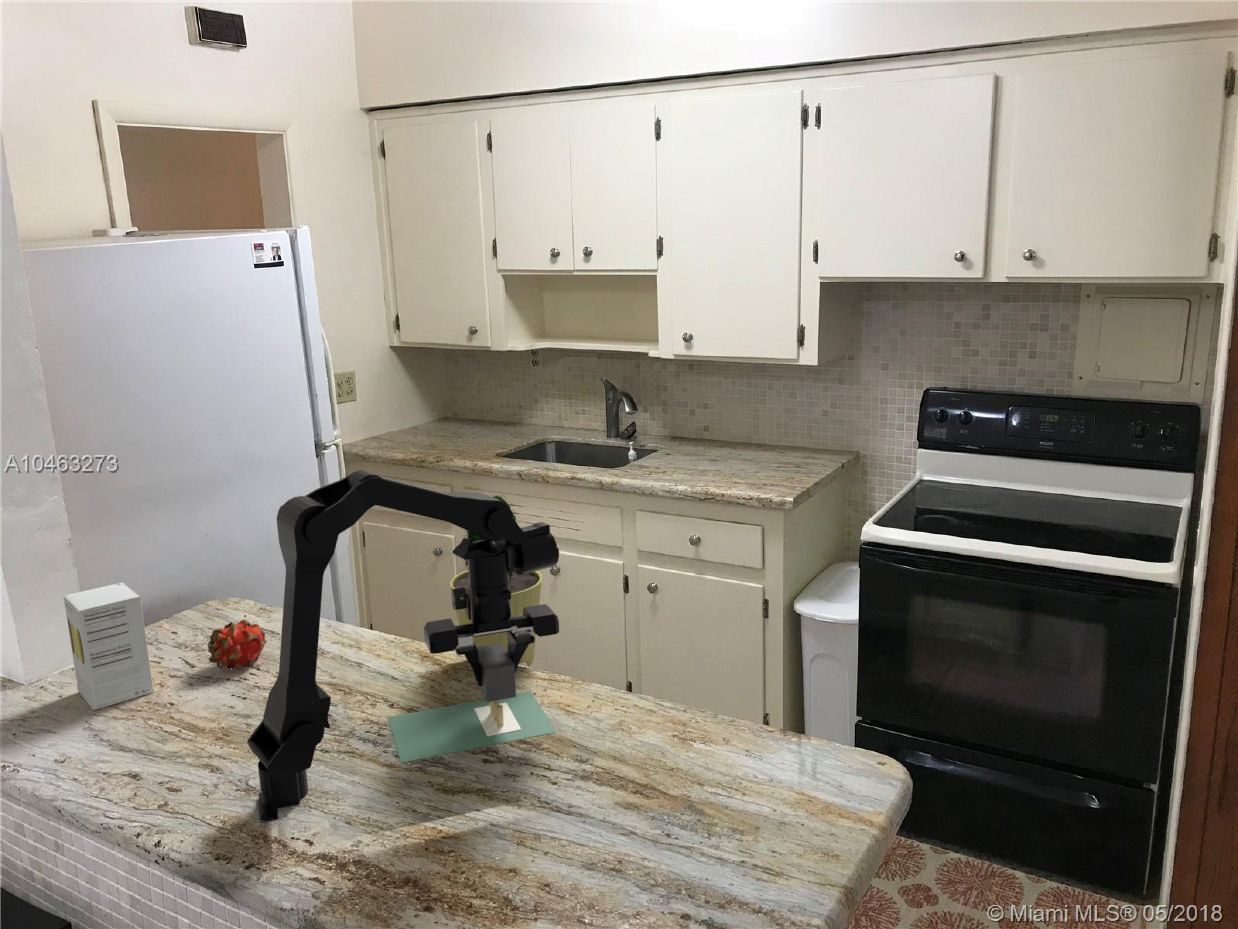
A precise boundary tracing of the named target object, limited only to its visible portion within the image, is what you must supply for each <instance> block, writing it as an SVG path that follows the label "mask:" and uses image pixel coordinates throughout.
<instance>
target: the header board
mask: <svg viewBox="0 0 1238 929" xmlns="http://www.w3.org/2000/svg"><path fill="white" fill-rule="evenodd" d="M387 719H388V723H389V726H390V730H391V733H392V736H393V737H392V738H393V741H394V744H395V747H396V752H397V754H398V758H399V762H400V763H401V764H403V763H409V762H415V761H418V760H423V759H428V758H433V757H438V756H442V755H449V754H454V753H458V752H463V751H469V750H474V749H478V748H484V747H488V746H489V747H490V746H494V745H499V744H504V743H509V742H514V741H518V740H524V739H530V738H534V737H539V736H544V735H549V734H554V733H557V731H556V729H555V728H554V726H553V725H552V723H551V721H550V719H549V718H548V716H547V714H546V713H545V711H544V710H543V709H542V707H541V705H540V704H539V702H538V701H537V699H536V697H535V695H534V694H533V693H532V690H530V691H529V690H528V691H523V692H518V693H517V692H516V697H513V698H507V699H502V700H496V701H491V702H487V701H486V699H485V698H484V699H481V700H480V699H479V700H474V701H468V702H463V703H458V704H453V705H448V706H447V705H446V706H440V707H435V708H429V709H425V710H420V711H413V712H409V713H403V714H397V715H391V716H388V717H387Z"/></svg>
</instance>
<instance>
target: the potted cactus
mask: <svg viewBox="0 0 1238 929" xmlns="http://www.w3.org/2000/svg"><path fill="white" fill-rule="evenodd" d="M490 496H491V497H493V498H496V499H498V500H501V501H503V502H505V503H507V504H508V505H509V506H510V508H512V507H514V504H512V502H509V501H510V500H509V499H507V500H505V499H506V496H504V495H503V494H502V495H501V494H500V495H491V494H490ZM511 511H512V516H513V520H514V521H515V522H516V523H517V524H518V525H519V523H521V521H520V519H519V520H518V519H517V517H516V516H518V515H517V514H518V513H517V512H516V510H514V509H511ZM519 521H520V522H519ZM465 532H466V533H465ZM464 533H465V536H464V535H462V537H464V538H466V539H468V540H470V541H472V542H475V541H479V540H484V539H485V538H482V537H480V536H478V535H476V534H474V533H471V532H469V531H467V530H464ZM502 540H504V539H502V538H501V539H500V540H497V541H493V542H498V541H502ZM542 580H543V575H542V573H540V572H539V570H538V571H534V572H530V573H526V574H522V575H518V574H516V573H515V572H514V571H513V570H511V569H509V582H510V592H511V599H510V602H511V617H514V616H520V615H523V609H524V607H530V606H537V605H540V600H541V594H542V593H541V591H542V590H541V589H542ZM449 586H450V590H451V589H456V588H463V587H464V588H465V590H466V593H469V572H468V570H464V571H462V572H460V573H458V574H457V575H454V577H452V579H451V580H450V582H449ZM451 592H452V590H451ZM455 614H456V619H457V622H458V626H459V625H465V624H472V623H471V620H469V619H468V618H467V614H466V609H459V610H455ZM532 635H533V636H534V638H535V642H534V643H531V644H529V645H528V647H527V649H526V651H525V652H524V654H523V656H522V658H521V660H520V662H519V665H520V664H523V663H525V664H526V665H527V667H528V668H529V667H530V666H531V665H532V664H533V662H534V659H535V651H536V650H535V649H536V641H537V640H536V639H537V634H535V633H534V632H533V631H532ZM473 639H474V640H473V642H474V644H475V646H476V647H479V646H485V645H492V644H498V643H501V644H502V646H503V647H504V649H505V650H506V652H507V654H508V638H507V632H502V633H496V634H490V635H483V636H477V637H473ZM465 659H466V658H465ZM466 661H467V662H468V660H467V659H466Z"/></svg>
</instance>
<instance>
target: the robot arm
mask: <svg viewBox="0 0 1238 929" xmlns="http://www.w3.org/2000/svg"><path fill="white" fill-rule="evenodd" d="M493 497H494V496H493ZM493 497H492V496H491V495H487V494H485V493H483V492H474V491H471V492H470V491H455V492H449V491H448V492H446V491H441V490H436V489H433V488H429V487H425V486H422V485H417V484H413V483H411V482H410V483H409V482H405V481H401V480H398V479H394V478H390V477H386V476H383V475H378V474H375V473H373V472H371V471H368V470H366V469H358V470H355V471H353V472H352V473H350V474H348V475H346V476H345V477H343V478H342V479H339V480H337V481H334V482H331V483H328V484H326V485H323V486H320V487H319V488H316V489H314V490H313V491H310V492H309V493H308V494H306V495H299V496H298V495H297V496H294V497H292V498H289V499H288V500H287V501H286V502H285V503H283V505H281V506H280V507H279V509H278V511H277V515H276V526H277V527H276V528H277V535H278V545H279V547H280V551H281V554H282V559H283V563H284V566H285V578H284V579H285V580H284V581H285V582H284V595H283V605H282V606H283V609H282V620H281V621H282V623H281V624H282V625H281V636H280V637H281V638H280V652H279V663H278V664H279V665H278V666H279V667H278V674H277V675H278V676H277V679H276V680H275V682H274V684H273V685H272V687H271V689H270V691H269V692H268V696H267V699H266V700H267V701H266V704H265V708H264V712H263V717H262V721H261V722H260V723H259V724H258V726H257V727H256V728H255V730H254V731H253V733H252V734H251V735H250V736H249V738H248V739H247V740H246V743H247V745H248V746H249V748H250V750H251V752H252V753H253V755H255V756H256V757H257V758H258V760H259V761H257V762H258V763H257V769H258V778H259V786H260V793H258V810H259V812H258V817H259V821H260V822H266V821H270V820H275V819H279V812H278V811H279V809H282V808H288V807H292V806H297V805H300V804H301V800H303V799H304V798H306V796H307V795H308V793H309V783H308V771H307V770H308V769H310V768H311V767H312V763H313V760H314V756H315V752H316V748H317V745H320V744H321V742H322V741H323V739H324V735H325V729H327V730H328V729H330V727H331V725H330V723H329V711H330V708H331V701H332V697H331V696H330V695H329V694H328V693H327V692H326V691H325V690H324V689H323V688H321V687H320V686H319V684H317V681H316V676H317V665H318V664H317V663H318V652H319V640H320V639H319V638H320V624H321V610H322V597H323V586H324V585H323V583H324V574H325V571H326V569H327V567H328V566H329V564H330V562H331V561H332V558H333V557H334V555H335V551H336V547H337V543H338V539H339V535H340V534H342V533H343V532H345V531H347V530H348V529H350V528H351V527H353V526H354V525H355V524H356V523H357V522H358V521H359V520H360V519H361V518H362V517H363V516H364V515H365V514H366V513H367V512H368V510H369V509H371V508H373V507H375V506H379V507H382V508H387V509H391V510H395V511H400V512H403V513H404V512H405V513H408V514H412V515H417V516H420V517H421V516H422V517H426V518H430V519H435V520H439V521H442V522H446V523H447V522H448V523H450V524H452V525H454V526H457V527H458V528H461V529H463V530H464V531H466V532H467V531H469V532H471V533H474V534H476V535H478V536H480V537H482V538H485V539H484V540H479V541H475V542H472V541H470V540H468V539H467V537H466V538H465V537H464V538H462V539H461V542H460V543H459V544H458V545H456V547H454V549H453V550H452V554H453V556H456V557H458V558H460V559H463V560H464V561H467V568H468V572H469V593H466V590H465V588H464V587H463V588H456V589H451V588H450V590H452V591H451V603H452V609H453V610H454V611H456V610H459V609H466V614H467V618H468V619H469V620H471V623H472V624H465V625H459V624H458V625H455V623H454V622H453V619H452V618H445V619H439V620H431V621H427V622H426V624H425V625H424V626H423V638H424V641H425V643H426V644H425V645H426V646H427V648H428V650H429V652H430V654H435V655H436V654H443V653H448V652H455V654H456V655H457V656H463V655H464V657H465V659H467V660H468V661H467V660H466V661H467V662H468V664H469V667H470V669H471V672H472V674H473V677H474V680H475V679H476V680H475V681H477V682H476V683H477V686H478V688H480V686H481V684H482V676H481V670H480V663H479V656H478V649H477V647H476V646H475V644H474V642H473V640H474V639H473V637H477V636H483V635H490V634H496V633H502V632H507V638H508V655H509V657H510V658H511V660H512V662H513V663H514V668H515V673H516V672H517V669H518V667H519V665H520V664H519V662H520V660H521V658H522V656H523V654H524V652H525V651H526V649H527V647H528V645H529V644H531V643H534V642H535V643H536V641H535V638H534V636H533V635H532V631H533V632H534V633H535V634H536V636H538V637H539V638H540V637H546V636H547V637H548V636H552V635H553V636H554V635H558V634H559V633H560V621H559V617H558V615H557V614H556V613H555V612H554V610H553V609H552V608H551V607H550V606H549V605H548V604H547V603H544V604H539V605H537V606H530V607H524V609H523V615H520V616H514V617H511V602H510V599H511V592H510V582H509V569H511V570H513V571H514V572H515V573H516V574H518V575H522V574H526V573H530V572H534V571H538V572H539V571H541V570H542V571H543V570H545V569H549V568H553V567H555V566H556V565H557V564H558V562H559V558H560V550H559V547H558V545H557V544H558V543H557V541H556V538H555V537H554V535H553V533H551V526H550V524H548V523H545V522H543V521H539V522H536V523H533V524H532V525H527V526H522V527H520V526H519V523H518V522H517V523H518V524H517V523H516V522H515V521H514V520H513V516H512V512H513V511H512V508H511V505H510V506H509V503H508V502H507V503H508V504H507V503H505V502H503V501H501V500H498V499H496V498H493ZM501 538H502V539H504V540H502V541H498V542H493V541H497V540H500V539H501Z"/></svg>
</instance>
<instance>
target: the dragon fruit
mask: <svg viewBox="0 0 1238 929" xmlns="http://www.w3.org/2000/svg"><path fill="white" fill-rule="evenodd" d="M266 643H268V640H266V634H265V632H263V629H262V628H261V626H260V625H259V624H258V623H253V624H251V623H250V621H248V620H247V619H241V620H240V621H239V622H238V623H233V621H231V622H229V623H228V624H225V625H224V627H223V628H222V627H220V628H216V629H214V630H212V634H211V635H210V636H209V641H208V643H207V648H208V650H207V651H208V653H209V654H210V655H211V656H210V657H209V658H208V660H209V662H211V663H216V666H217V668H221V669H223V668H227V669H228V670H229V669H231V668H232V670H234V669H236V666H241V667H242V668H245V667H248V668H249V667H251V666H252V665H253V661H258V660H259V658H260V656H261V654H262V651H263V649H264V648H265V645H266ZM220 663H221V665H220Z"/></svg>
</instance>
